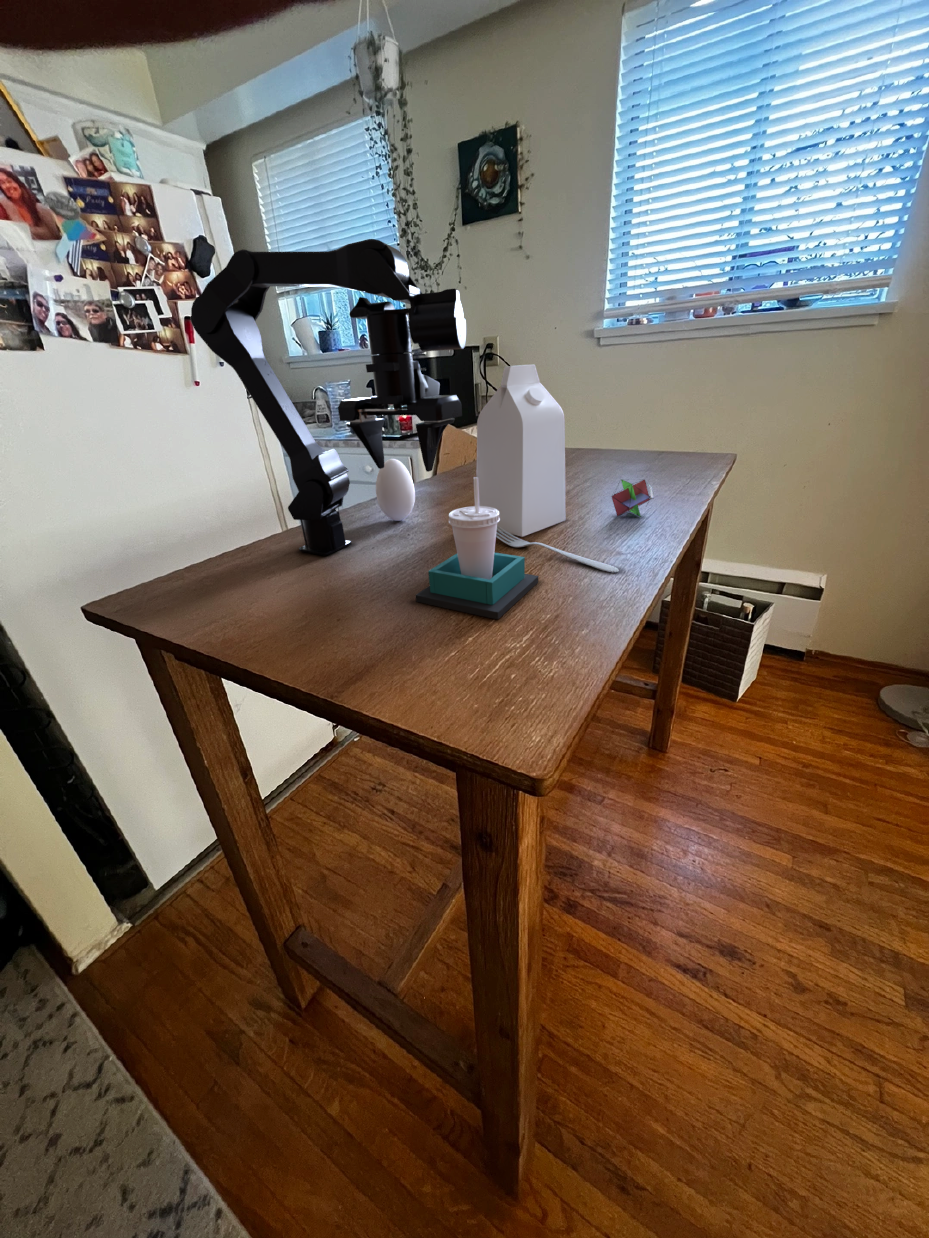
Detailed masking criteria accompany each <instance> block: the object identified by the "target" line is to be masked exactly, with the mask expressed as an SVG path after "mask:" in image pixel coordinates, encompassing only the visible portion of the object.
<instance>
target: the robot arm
mask: <svg viewBox="0 0 929 1238" xmlns="http://www.w3.org/2000/svg"><path fill="white" fill-rule="evenodd" d="M270 287H285V288H286V287H287V288H288V287H289V288H290V287H292V288H293V287H295V288H308V287H309V288H343V289H348V290H352V291H357V292H361V293H365V294H370V295H374V296H378V297H382V298H386V299H391V300H392V301H394V302H395V301H396V302H400V303H404V304H408V305H410V306H409V307H407V308H396V307H395V306H394V304H393V303H392V302H391V301H389V300H387V301H379V302H370V300H369V299H368V298H367V297H363V296H360V297H358V300H357V302H356V304H355V305H354V307H352V309H351V310H350V311H349V317H350V318H352V319H359V320H365V323H366V331H367V338H368V347H369V353H370V360H371V363H366V364H365V369H366V373H372V376H373V384H374V390H375V391H374V392H375V395H374V396H373V395H372V396H370V397H356V398H349V399H344V400H343V399H342V400H340V402H339V404H338V406H337V412H338V418H339V421H340V422H346V427H347V428H350V429H351V430H352V431H353V432H354V434H355V435H356V437H357V438H358V439H359V441H360V442H361V443H362V445H363V446H364V448H365V449H366V451H367V453H368V454H369V456H370V458H371V459H372V461H373V462H374V464H375V465H376V468H378V469H381V468H384V462H385V453H384V452H385V451H384V444H383V433H382V430H383V427H384V423H385V420H386V419H385V418H377V417H379V416H416V417H417V418H418V420H420V422H417V423H415V429H416V434H417V439H418V445H419V448H420V453H421V458H422V462H423V465H424V470H425V471H426V472H427V473H428V472H431V471H433V469H434V465H435V461H436V457H437V452H438V450H439V449H438V447H439V445H440V441H441V438H442V435H443V433H444V431H445V430H446V428H447V427H448V425H451V424H454V422H455V418H458V417H459V418H460V417H462V416H463V409H462V408H463V407H462V402H461V400H460V399H459V397H458V396H457V394H443V395H442V394H441V395H440V386H441V384H440V382H439V381H438V380H435V379H434V378H432V377H431V376H429V375H425V374H422V372H421V365H420V363H419V360H413V359H414V358H413V351H412V343H413V344H414V345H418V347H419V349H420V351H421V352H424V353H425V352H437V351H453V350H464V348H465V347H466V342H467V320H466V318H465V315H464V309H463V305H462V302H461V296H460V293H461V292H460V290H459V289H457V288H446V289H444V290H441V291H437V292H436V291H435V292H425V293H423V292H422V290H421V288H420V287H419V286H418V285H417V284H416V282H415V281H414V280H413V278H412V277H411V276H410V271H409V263H408V262H407V259H406V257H405V256H404V254H402V252H401V251H400V250H399V249H397V248H396V247H394V246H392V245H390V244H387V243H386V242H384V241H382V240H380V239H375V238H367V239H364V240H358V241H356V242H350V243H346V244H344V245H343V246H341V247H338V248H336V249H332V250H328V251H324V250H323V251H252V250H249V249H244V248H243V249H239V250H237V251H235V252H234V253H233V254H232V255H231V257H230V259H229V261H228V262H227V264H226V265H225V267H224V268H223V269H222V270H221V271H220V272H218V273H217V275H215V276H214V277H213V278H212V279H211V280H210V281H209V282H207V284H206V285H205V287H204V289H203V291H202V292H201V293H200V295H199V296H197V297H196V298H195V299H194V301H193V302H192V305H191V311H190V314H191V315H190V316H189V318H190V323H191V325H192V327H193V329H194V331H195V332H196V334H197V335H198V337H200V339H201V340H202V341H203V342H204V343H205V345H206V346H207V347H208V348H209V349H210V351H211V352H212V353H214V354H215V355H216V356H217V357H218V358H220V360H222V361H224V362H225V363H226V364H227V365H229V366H230V367H231V368H232V369H233V370H234V372H235V373H236V374H237V377H238V378H239V380H240V381H241V383H242V385H243V386H244V388H245V390H246V391H247V392H248V394H249V396H250V397H251V399H252V400H253V402H254V404H255V405H256V407H257V408H258V411H260V413H261V415H262V417H263V418H264V420H265V421H266V423H267V424H268V426H269V427H270V429H271V431H272V432H273V434H274V435H275V437H276V439H277V441H278V442H279V444H280V445H281V447H282V448H283V450H284V452H285V453H286V455H287V456H288V459H289V462H290V470H291V476H292V480H293V482H294V485H295V487H296V489H297V491H298V492H297V493H296V495H295V496H294V498H293V499H292V501H291V502H290V503H289V504H288V506H287V510H288V512H289V514H290V516H291V517H292V519H293V520H294V521H300V526H301V531H302V535H303V539H304V544H305V545H302V546H300V547H299V548H298V551H299V552H303V553H308V554H313V555H318V556H323V557H324V556H326V557H327V556H328V555H331V554H333V553H335V552H338V551H340V550H342V549H344V548H346V547H349V546H350V545H352V540H347V539H346V537H345V531H344V525H343V521H342V520H341V515H340V511H338V510H337V509H338V508H340V507H342V506H343V503H344V497H345V496H346V495H347V494H348V492H349V488H350V485H351V481H350V477H349V476H348V473H349V471H350V470H349V468H347V466H345V465H344V463H343V462H342V460H341V457H340V456H339V453H338V451H337V450H336V448H331V449H329V450H327V451H326V450H325V449H324V448H323V447H321V446H320V445H319V444H318V443H317V441H315V438H314V437H313V435H312V433H311V432H310V430H309V428H308V427H307V425H306V423H305V422H304V420H303V419H302V416H301V415H300V414H299V413H300V412H298V410H297V408H296V407H295V405H294V404H293V402H292V400H291V398H290V397H289V395H288V394H287V392H286V390H285V388H284V387H283V385H282V383H281V382H280V380H279V379H278V376H277V375H276V374H275V372H274V370H273V369H272V367H271V365H270V363H269V361H268V359H266V356H265V355H264V347H263V343H262V342H263V341H262V335H261V332H260V329H259V327H258V325H257V323H256V321H257V320H258V318H259V316H260V315H261V313H262V312H263V309H264V305H265V301H266V296H267V292H268V291H269V290H270ZM389 405H392V407H389Z"/></svg>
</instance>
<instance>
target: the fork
mask: <svg viewBox="0 0 929 1238" xmlns="http://www.w3.org/2000/svg"><path fill="white" fill-rule="evenodd" d="M498 528H499V529H500V530H502V531H503V532H502V531H500V530H498V529H497V531H496V539H498V540H500V541H501V542H503V543H504V544H506V545H508V546H510V547H512V548H524V547H527V546H533V545H534V546H540V547H542V548H545V549H547V550H549V551H551V552H552V551H553V552H555V553H556V554H559V555H562V556H564V557H565V558H568V559H571V560H574V561H576V562H579V563H581V564H583V565H586V566H590V567H592V568H595V569H598V570H600V571H603V572H606V573H607V572H608V573H618V572H619V571H620V570H619V568H618V567H616V566H613V565H611V564H607V563H604V562H601V561H597V560H594V559H590V558H587V557H584V556H580V555H577V554H574V553H571V552H567V551H565V550H562V549H559V548H556V547H554V546H550V545H548V544H545V543H542V542H538V541H537V542H536V541H533V542H529V541H527V540H524V539H521V538H520V537H518V536H516V535H513V534H510V533H508V532H506V531H505V530H503V529H502V528H500V527H499V526H498Z"/></svg>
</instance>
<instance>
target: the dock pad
mask: <svg viewBox="0 0 929 1238" xmlns="http://www.w3.org/2000/svg"><path fill="white" fill-rule="evenodd" d="M525 559H526V557H525V556H520V555H515V554H507V553H500V552H494V562H493V572H492V578H491V579H484V578H478V577H473V576H467V575H461V570H460V565H459V560H458V555H457V553H455V554H453V555H452V556H450V557H449V558H447V559H446V560H445V559H444V561H442V562H440V563H439V564H437V565H436V566H434V567H432V568H430V569H429V570H428V571H427V573H428V574H427V575H428V582H429V585H428V586H427V587H425V588H423V589H422V590H421V591H419V592H417V593H416V594H415V602H417V603H420V604H425V605H428V606H429V605H430V606H433V607H439V608H443V609H447V610H452V611H457V612H461V613H465V614H470V615H475V616H479V617H483V618H484V617H485V618H488V619H492V620H497V621H498V620H499V619H500V618H501V617H503V616H504V615H505V614H506V613H507V612H508V611H509V610H510V609H512V608H513V606H514V605H515V604H517V603H518V602H519V601H520V600H521V599H522V598H523V597H524V596H525V595H526V594H528V593H529V592H530V591H531V590H532V589H533V588H534V587H535V586H536V585H538V583H539V575H537V574H536V575H535V574H528V573H525V572H526V571H525V569H526V564H525V563H526V562H525V561H526V560H525Z"/></svg>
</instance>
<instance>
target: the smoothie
mask: <svg viewBox="0 0 929 1238" xmlns="http://www.w3.org/2000/svg"><path fill="white" fill-rule="evenodd" d="M473 494H474V495H473V496H474V499H473V500H474V505H473V506H465V507H460V508H456V509H453V510H452V511H450V512H449V513H448V524H449V525H450V526H451V528H452V535H453V539H454V545H455V549H456V550H455V551H456V554H457V555H458V560H459V565H460V570H461V575H467V576H473V577H478V578H484V579H491V578H492V572H493V562H494V553H495V549H496V540H497V537H496V535H497V534H496V532H498V531H497V523H498V522H499V520H500V517H499V511H498V510H497V509H495V508H491V507H485V506H479V486H478V477H476V476H473Z"/></svg>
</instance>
